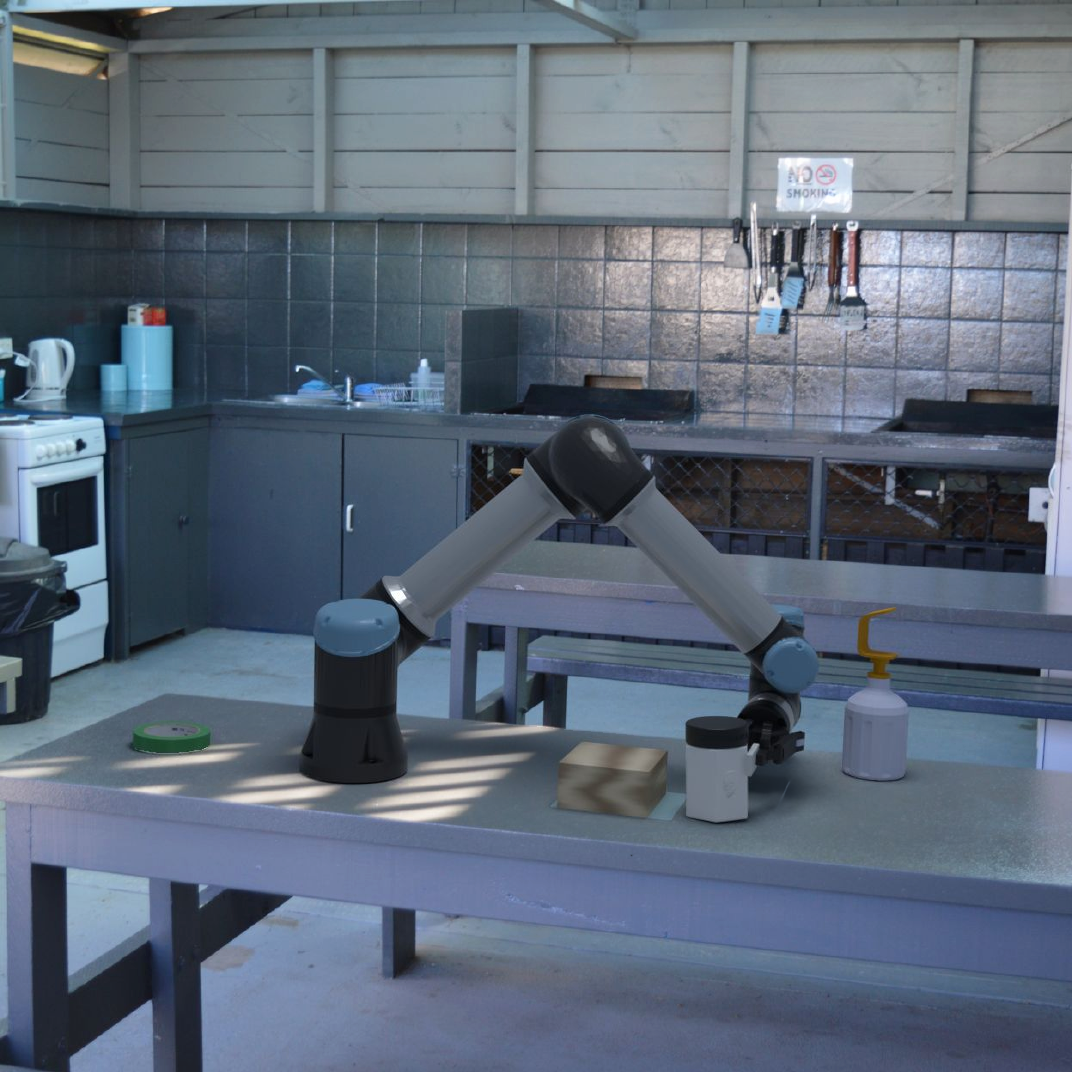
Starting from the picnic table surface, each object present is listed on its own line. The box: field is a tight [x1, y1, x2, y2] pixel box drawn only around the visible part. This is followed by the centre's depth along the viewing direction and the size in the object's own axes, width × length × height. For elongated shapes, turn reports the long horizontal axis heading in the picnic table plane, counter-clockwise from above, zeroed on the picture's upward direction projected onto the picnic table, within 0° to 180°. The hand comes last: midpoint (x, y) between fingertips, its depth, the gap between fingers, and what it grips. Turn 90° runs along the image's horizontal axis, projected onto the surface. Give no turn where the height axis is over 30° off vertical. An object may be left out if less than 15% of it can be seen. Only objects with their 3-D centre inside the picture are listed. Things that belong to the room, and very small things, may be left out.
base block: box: [556, 741, 669, 819], centre depth 196 cm, size 12×12×6 cm
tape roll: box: [132, 721, 211, 753], centre depth 219 cm, size 11×11×3 cm
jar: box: [684, 715, 749, 823], centre depth 191 cm, size 9×8×12 cm
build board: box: [549, 791, 686, 822], centre depth 197 cm, size 16×13×1 cm
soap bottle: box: [841, 606, 910, 782], centre depth 215 cm, size 9×9×25 cm
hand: (739, 764), depth 188 cm, fingers closed on jar, 2 cm apart
